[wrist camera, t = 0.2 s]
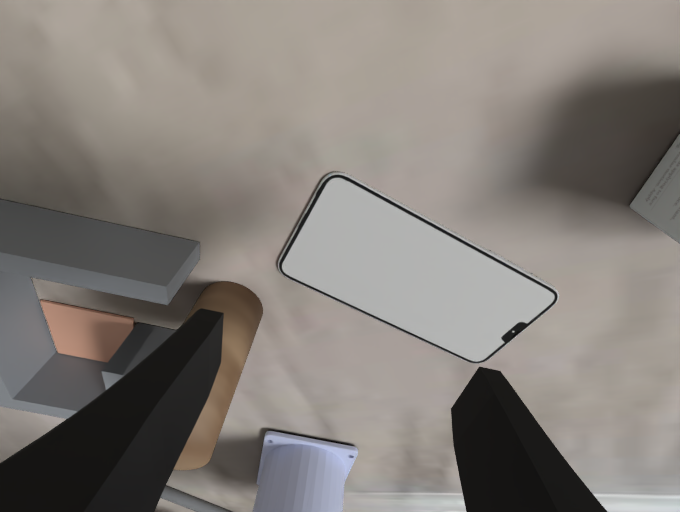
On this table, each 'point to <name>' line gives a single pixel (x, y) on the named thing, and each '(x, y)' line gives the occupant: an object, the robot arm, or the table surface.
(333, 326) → the table surface
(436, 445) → the table surface
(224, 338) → the peg
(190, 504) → the newton's cradle
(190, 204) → the table surface
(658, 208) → the skincare box
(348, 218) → the smartphone
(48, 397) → the channel
